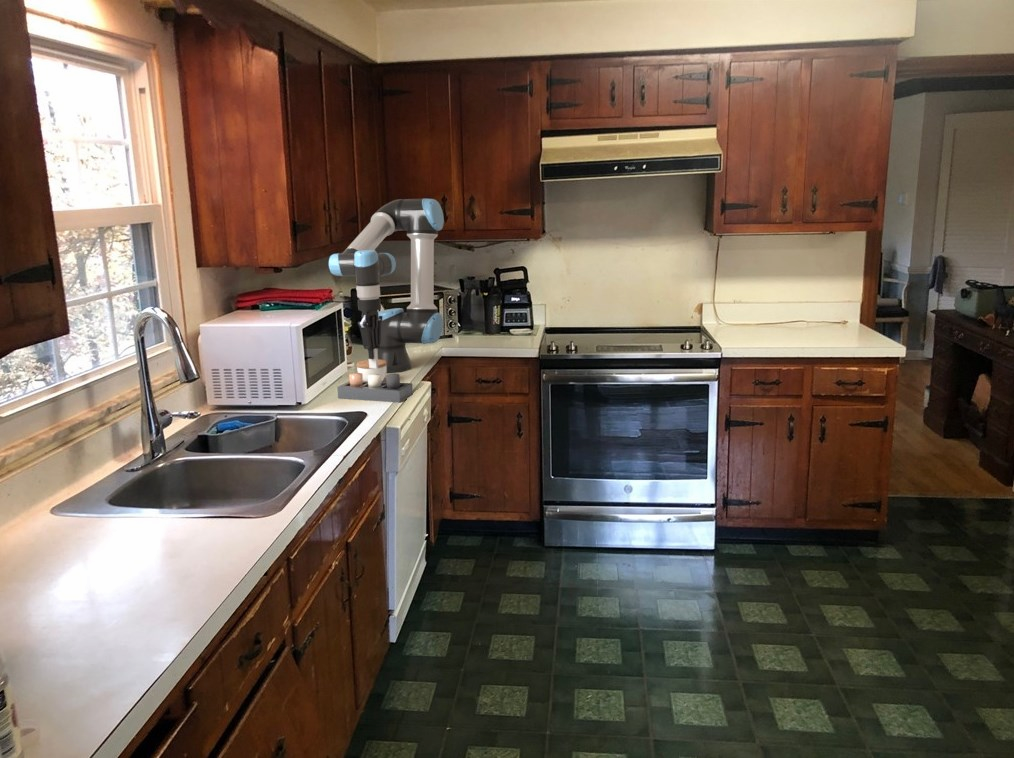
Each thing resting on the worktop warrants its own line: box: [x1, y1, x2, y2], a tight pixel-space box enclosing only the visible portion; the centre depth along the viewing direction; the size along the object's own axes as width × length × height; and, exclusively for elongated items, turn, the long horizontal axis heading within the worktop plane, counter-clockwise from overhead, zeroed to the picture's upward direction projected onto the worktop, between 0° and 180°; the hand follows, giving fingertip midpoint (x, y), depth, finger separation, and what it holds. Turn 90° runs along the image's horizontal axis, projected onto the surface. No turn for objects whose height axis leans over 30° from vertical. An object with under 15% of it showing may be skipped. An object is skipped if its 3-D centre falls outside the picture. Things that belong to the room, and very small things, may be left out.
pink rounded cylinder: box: [348, 372, 363, 387], centre depth 269 cm, size 4×4×5 cm
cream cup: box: [368, 374, 382, 388], centre depth 267 cm, size 4×4×5 cm
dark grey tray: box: [336, 380, 414, 403], centre depth 268 cm, size 10×23×4 cm, turn 71°
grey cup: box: [385, 373, 401, 389], centre depth 265 cm, size 4×4×5 cm
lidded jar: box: [356, 359, 387, 382], centre depth 286 cm, size 11×11×9 cm
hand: (373, 367), depth 266 cm, fingers closed
